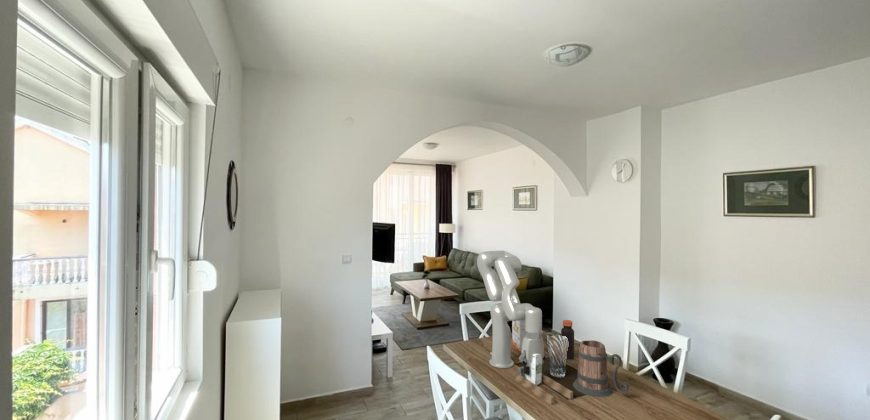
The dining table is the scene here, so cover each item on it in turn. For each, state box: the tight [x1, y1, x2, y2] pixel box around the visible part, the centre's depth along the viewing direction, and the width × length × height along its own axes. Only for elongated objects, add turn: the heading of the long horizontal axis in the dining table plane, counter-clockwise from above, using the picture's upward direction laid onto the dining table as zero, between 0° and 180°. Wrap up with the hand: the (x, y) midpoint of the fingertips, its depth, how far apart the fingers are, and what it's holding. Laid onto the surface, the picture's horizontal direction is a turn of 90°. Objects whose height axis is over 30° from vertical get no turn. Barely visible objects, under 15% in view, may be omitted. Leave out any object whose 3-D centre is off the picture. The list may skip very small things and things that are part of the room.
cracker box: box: [511, 320, 525, 353], centre depth 213 cm, size 14×6×21 cm, turn 6°
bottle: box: [560, 319, 575, 360], centre depth 199 cm, size 7×7×20 cm
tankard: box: [572, 339, 630, 398], centre depth 162 cm, size 24×17×20 cm
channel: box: [515, 365, 574, 406], centre depth 163 cm, size 24×12×6 cm, turn 24°
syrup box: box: [525, 354, 543, 386], centre depth 169 cm, size 6×6×14 cm
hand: (533, 372), depth 169 cm, fingers closed on syrup box, 7 cm apart
